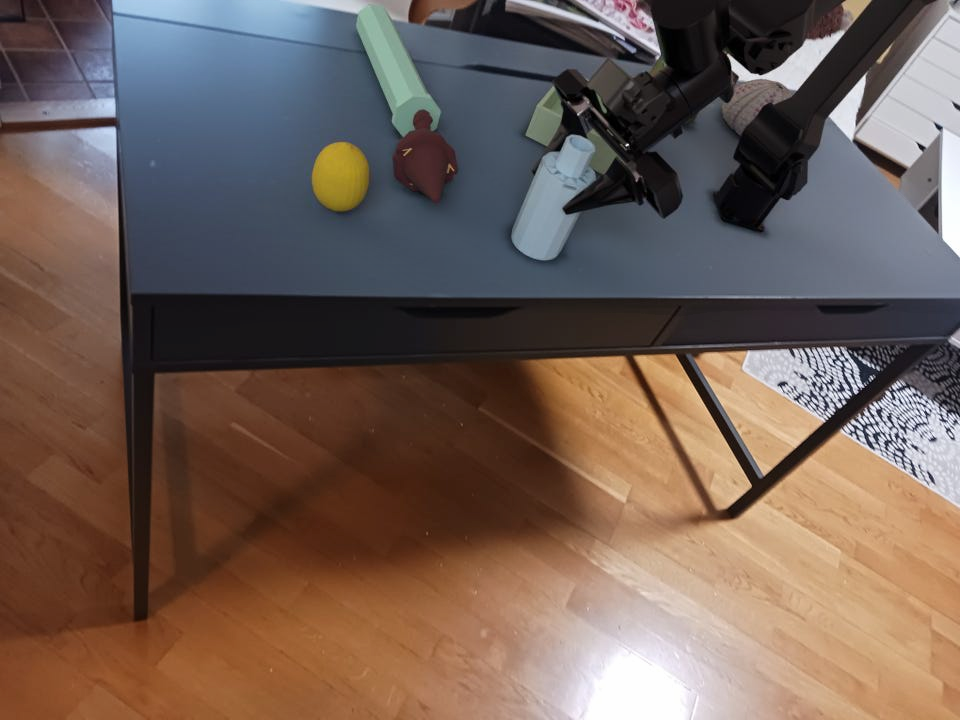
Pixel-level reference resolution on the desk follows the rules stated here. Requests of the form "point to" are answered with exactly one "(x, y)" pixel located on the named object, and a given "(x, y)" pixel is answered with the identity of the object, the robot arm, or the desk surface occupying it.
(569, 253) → the desk surface
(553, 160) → the bottle
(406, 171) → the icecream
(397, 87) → the container
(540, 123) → the bin
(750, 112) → the sea urchin shell
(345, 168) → the lemon
